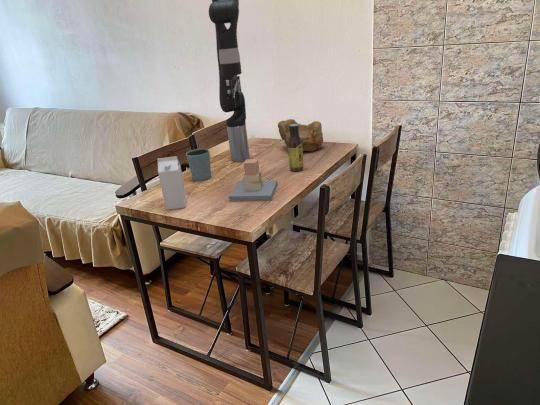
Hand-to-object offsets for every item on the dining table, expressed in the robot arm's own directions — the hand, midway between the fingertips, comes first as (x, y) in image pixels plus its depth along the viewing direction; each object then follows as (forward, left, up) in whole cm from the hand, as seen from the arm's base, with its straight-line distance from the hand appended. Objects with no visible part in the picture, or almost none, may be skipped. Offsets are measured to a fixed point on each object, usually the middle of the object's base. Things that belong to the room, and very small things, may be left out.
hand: (235, 106), depth 155 cm
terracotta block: (+10, +6, -24) cm, 27 cm away
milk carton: (+21, -22, -32) cm, 44 cm away
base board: (+10, +6, -32) cm, 34 cm away
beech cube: (+10, +6, -30) cm, 32 cm away
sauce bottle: (-16, +20, -32) cm, 41 cm away
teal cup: (-9, -22, -32) cm, 40 cm away
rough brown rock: (-45, +18, -32) cm, 58 cm away
